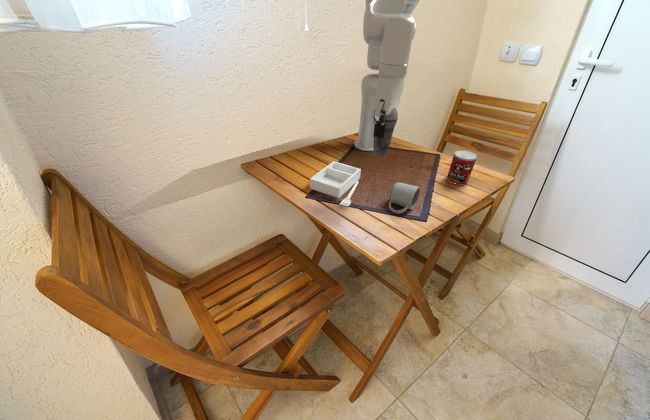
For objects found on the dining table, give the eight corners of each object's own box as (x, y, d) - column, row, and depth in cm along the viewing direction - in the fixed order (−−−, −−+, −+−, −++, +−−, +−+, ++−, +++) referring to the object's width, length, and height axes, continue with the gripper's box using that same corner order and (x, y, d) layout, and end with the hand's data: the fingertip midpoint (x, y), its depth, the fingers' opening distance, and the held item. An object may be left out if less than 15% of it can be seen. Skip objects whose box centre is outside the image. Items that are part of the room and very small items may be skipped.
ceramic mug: (395, 195, 101) (398, 176, 97) (417, 203, 98) (422, 183, 93) (382, 210, 94) (385, 190, 90) (406, 218, 90) (410, 198, 86)
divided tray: (333, 170, 116) (333, 161, 113) (359, 178, 111) (361, 169, 108) (309, 188, 104) (309, 178, 101) (338, 198, 99) (339, 188, 96)
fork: (362, 183, 109) (362, 179, 108) (346, 210, 93) (347, 206, 92) (353, 182, 110) (354, 177, 109) (337, 208, 94) (337, 204, 93)
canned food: (443, 180, 111) (451, 154, 104) (451, 173, 116) (459, 148, 109) (462, 188, 107) (472, 161, 100) (470, 180, 112) (480, 154, 105)
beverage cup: (391, 159, 89) (403, 91, 77) (368, 156, 90) (376, 89, 78) (391, 149, 95) (402, 85, 83) (369, 147, 96) (377, 83, 84)
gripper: (390, 64, 86) (382, 122, 96) (367, 73, 74) (360, 139, 84) (415, 67, 83) (403, 127, 93) (395, 77, 71) (384, 145, 81)
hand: (383, 132), depth 89 cm, fingers closed on beverage cup, 7 cm apart
